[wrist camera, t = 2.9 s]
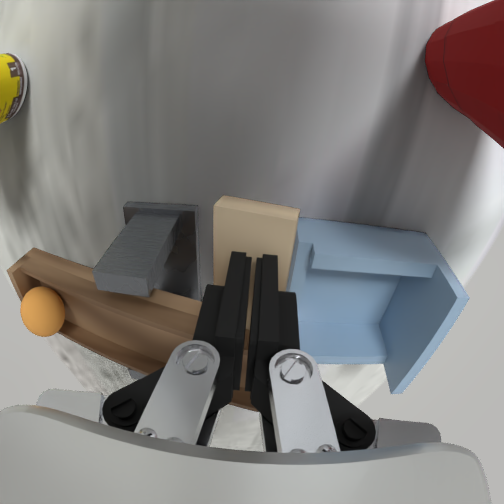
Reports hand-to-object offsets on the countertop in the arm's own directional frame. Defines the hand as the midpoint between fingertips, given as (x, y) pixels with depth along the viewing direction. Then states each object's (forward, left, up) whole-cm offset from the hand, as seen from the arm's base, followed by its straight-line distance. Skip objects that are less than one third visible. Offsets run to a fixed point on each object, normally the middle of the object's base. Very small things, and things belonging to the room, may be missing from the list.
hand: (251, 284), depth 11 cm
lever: (+4, -7, -3) cm, 9 cm away
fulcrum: (+6, -6, -9) cm, 12 cm away
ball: (+6, -14, -2) cm, 16 cm away
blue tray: (+6, +7, -9) cm, 13 cm away
